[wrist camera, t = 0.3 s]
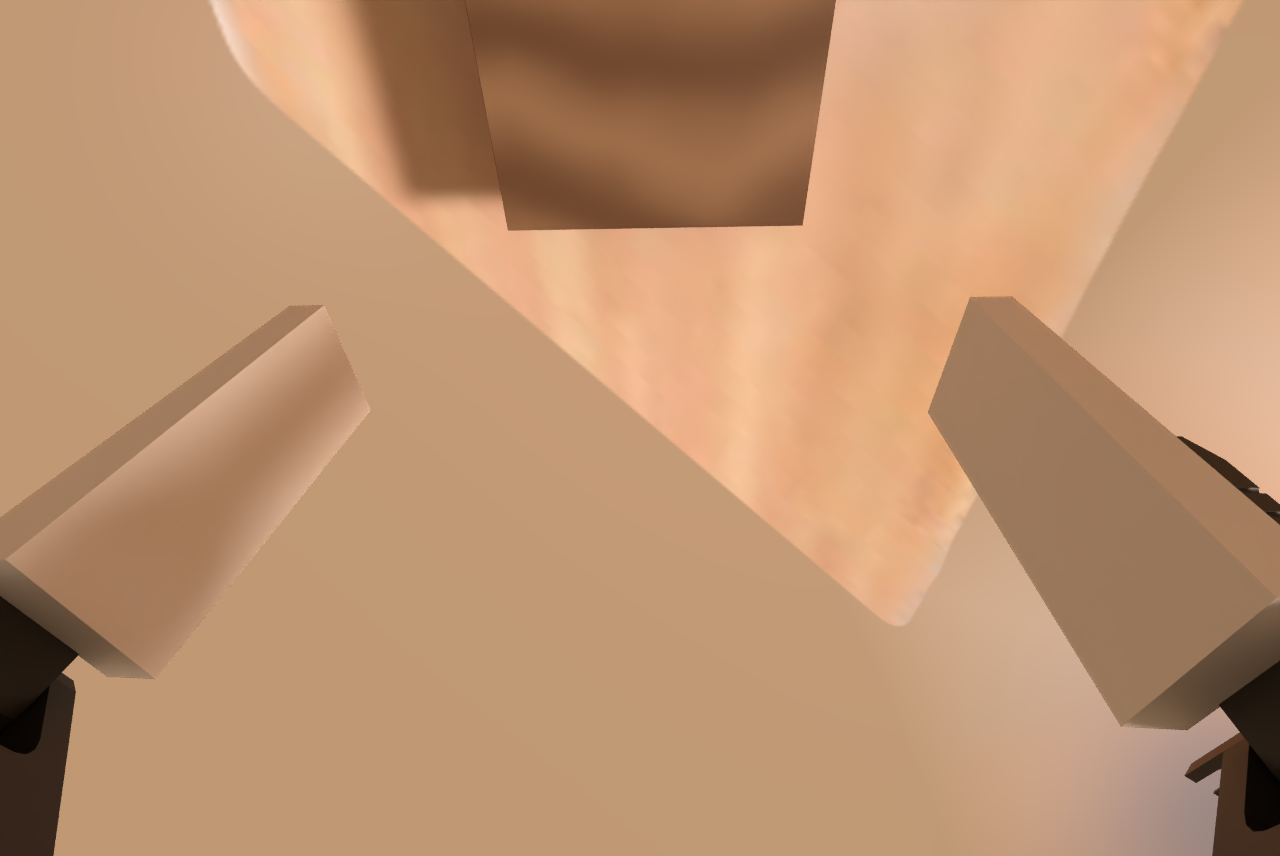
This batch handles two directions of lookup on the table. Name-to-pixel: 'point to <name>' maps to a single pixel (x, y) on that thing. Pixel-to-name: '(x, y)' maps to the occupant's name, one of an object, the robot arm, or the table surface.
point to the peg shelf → (652, 109)
